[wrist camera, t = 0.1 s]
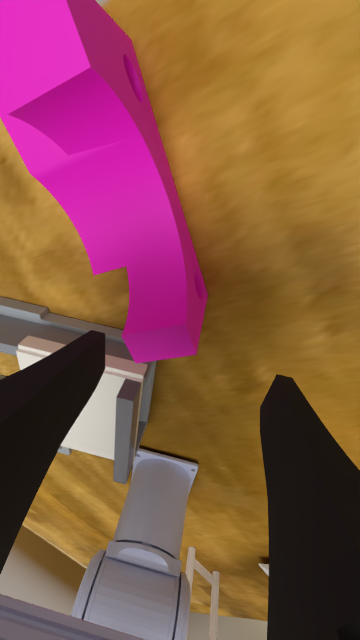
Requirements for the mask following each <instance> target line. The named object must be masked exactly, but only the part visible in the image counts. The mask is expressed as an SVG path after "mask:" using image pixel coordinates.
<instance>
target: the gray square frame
mask: <svg viewBox="0 0 360 640" xmlns="http://www.w3.org/2000/svg"><path fill="white" fill-rule="evenodd" d="M90 330H94V331H98V332H103V333H105V354H106V355H110V356H114V357H118V358H123V359H127V360H131V361H134V360H133V358H132V356H131V354H130V352H129V350H128V348H127V346H126V344H125V342H124V340H123V338H122V336H121V335H122V333H123V330H121V329H116V328H112V327H108V326H104V325H99V324H95V323H91V322H87V321H83V320H78V319H74V318H70V317H66V316H61V315H57V314H53V313H49V311H48V308H47V307H42V306H38V305H34V304H30V303H25V302H21V301H17V300H13V299H8V298H4V297H0V352H3V353H7V354H11V355H15V356H17V354H16V350H18V349H19V348H18V344H19V343H20V342H21V341H22V340H23V339H25V338H26V337H27V336H32V337H36V338H41V339H45V340H49V341H53V342H57V343H61V344H65V345H67V344H69V343H71V342H72V341H74V340H75V339H77V338H79V337H80V336H82V335H84V334H85V333H87V332H89V331H90ZM156 362H157V360H156V361H149V362H143V364H147V370H146V372H145V374H144V378H143V387H142V396H141V405H140V414H139V422H138V431H137V440H136V449H135V457H136V455H137V452H138V449H139V446H140V443H141V440H142V437H143V434H144V430H145V429H146V426H147V423H148V418H149V411H150V404H151V397H152V390H153V383H154V376H155V369H156ZM5 377H6V376H2V375H0V380H1V379H3V378H5ZM72 450H73V449H71V448H67V447H63V446H60V447H59V449H58V451H57V452H60V453H63V454H67V455H70V454H71V452H72Z"/></svg>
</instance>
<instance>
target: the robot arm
mask: <svg viewBox="0 0 360 640" xmlns="http://www.w3.org/2000/svg"><path fill="white" fill-rule="evenodd" d="M104 370H105V333H103V332H98V331H94V330H90V331H89V332H87V333H85V334H84V335H82V336H80V337H79V338H77V339H75V340H74V341H72V342H71V343H69V344H67V345H66V346H64V347H62V348H61V349H59V350H57V351H55V352H54V353H52V354H50V355H49V356H47V357H45V358H43V359H41V360H39V361H37V362H36V363H34V364H32V365H30V366H28V367H26V368H24V369H22V370H20V371H18V372H16V373H14V374H12V375H10V376H7V377H5V378H3V379H1V380H0V574H1V571H2V569H3V567H4V564H5V562H6V560H7V557H8V555H9V552H10V550H11V548H12V546H13V543H14V541H15V539H16V537H17V534H18V532H19V530H20V528H21V525H22V523H23V521H24V519H25V517H26V515H27V512H28V510H29V508H30V506H31V504H32V502H33V500H34V497H35V495H36V493H37V491H38V489H39V487H40V485H41V483H42V481H43V479H44V477H45V475H46V473H47V471H48V469H49V467H50V465H51V463H52V461H53V459H54V457H55V455H56V453H57V451H58V449H59V447H60V445H61V444H62V442H63V440H64V439H65V437H66V435H67V434H68V432H69V431H70V429H71V427H72V426H73V424H74V423H75V421H76V420H77V418H78V416H79V415H80V413H81V412H82V410H83V409H84V407H85V405H86V404H87V402H88V401H89V399H90V398H91V396H92V394H93V393H94V391H95V389H96V387H97V385H98V383H99V381H100V379H101V377H102V375H103V373H104ZM260 435H261V444H262V453H263V461H264V469H265V477H266V486H267V496H268V522H269V596H268V627H267V640H360V470H359V469H358V468H357V467H356V466H355V465H354V463H353V462H352V461H351V460H350V458H349V457H348V456H347V455H346V454H345V452H344V451H343V450H342V448H341V447H340V446H339V445H338V443H337V442H336V441H335V439H334V438H333V437H332V435H331V434H330V433H329V431H328V430H327V429H326V427H325V426H324V424H323V423H322V422H321V420H320V419H319V417H318V416H317V414H316V413H315V411H314V410H313V409H312V407H311V406H310V404H309V403H308V401H307V400H306V398H305V396H304V395H303V393H302V392H301V390H300V389H299V387H298V386H297V384H296V383H295V381H294V380H293V379H292V378H290V377H286V376H282V375H278V374H277V375H276V377H275V379H274V381H273V383H272V385H271V387H270V389H269V391H268V393H267V395H266V397H265V399H264V401H263V403H262V405H261V407H260ZM197 470H198V464H196V463H193V462H190V461H186V460H182V459H178V458H174V457H171V456H167V455H163V454H159V453H156V452H152V451H148V450H144V449H140V448H139V449H138V452H137V455H136V457H135V460H134V463H133V470H132V479H131V484H130V487H129V490H128V493H127V497H126V500H125V503H124V506H123V509H122V512H121V515H120V519H119V522H118V525H117V528H116V531H115V534H114V538H113V541H109V544H108V547H107V550H104V549H101V550H99V552H98V553H96V554H95V555H94V556H93V557H92V559H91V560H90V562H89V565H88V567H87V569H86V572H85V574H84V577H83V580H82V582H81V585H80V588H79V591H78V594H77V597H76V600H75V603H74V606H73V610H72V614H71V616H69V615H65V614H62V613H59V612H56V611H52V610H49V609H46V608H43V607H40V606H36V605H34V604H30V603H27V602H24V601H21V600H17V599H14V598H11V597H8V596H5V595H1V594H0V640H186V636H187V628H188V620H189V610H190V583H189V581H188V579H187V575H186V574H185V573H183V572H180V570H181V563H182V562H181V561H180V560H179V556H180V549H181V542H182V535H183V527H184V520H185V513H186V506H187V499H188V494H189V492H190V489H191V486H192V484H193V481H194V478H195V476H196V473H197Z"/></svg>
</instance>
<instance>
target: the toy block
mask: <svg viewBox="0 0 360 640" xmlns="http://www.w3.org/2000/svg"><path fill="white" fill-rule="evenodd" d="M0 117H1V119H2V121H3V123H4V125H5V127H6V129H7V131H8V133H9V135H10V136H11V138H12V140H13V142H14V144H15V146H16V148H17V150H18V152H19V154H20V155H21V157H22V159H23V161H24V163H25V165H26V167H27V169H28V171H29V173H30V174H31V175H32V176H34V177H35V178H36V179H37V180H38V181H39V182H40V183H41V184H42V185H43V186H44V187H45V188H46V189H47V190H48V191H49V192H50V193H51V194H52V195H53V196H54V197H55V199H56V200H57V201H58V202H59V204H60V205H61V206H62V208H63V209H64V210H65V212H66V213H67V215H68V216H69V218H70V219H71V221H72V222H73V224H74V226H75V228H76V229H77V231H78V233H79V235H80V237H81V239H82V241H83V244H84V246H85V248H86V251H87V254H88V257H89V260H90V263H91V267H92V271H93V275H96V274H100V273H104V272H107V271H111V270H114V269H118V268H122V267H125V266H127V272H128V280H129V309H128V316H127V321H126V324H125V328H124V330H123V333H122V335H121V336H122V338H123V340H124V342H125V344H126V346H127V348H128V350H129V352H130V354H131V356H132V358H133V360H134V362H135V364H136V363H143V362H149V361H156V360H163V359H170V358H177V357H183V356H190V355H196V354H197V349H198V343H199V338H200V333H201V328H202V323H203V318H204V312H205V307H206V302H207V297H208V294H207V290H206V287H205V284H204V280H203V277H202V274H201V270H200V267H199V264H198V260H197V257H196V254H195V250H194V247H193V244H192V240H191V237H190V234H189V230H188V227H187V224H186V220H185V217H184V214H183V211H182V207H181V204H180V201H179V197H178V194H177V191H176V187H175V184H174V181H173V177H172V174H171V171H170V167H169V164H168V161H167V157H166V154H165V151H164V147H163V144H162V141H161V137H160V134H159V131H158V127H157V124H156V121H155V118H154V114H153V111H152V108H151V104H150V101H149V98H148V94H147V91H146V88H145V84H144V81H143V78H142V74H141V71H140V68H139V64H138V61H137V58H136V54H135V51H134V48H133V44H132V41H131V39H130V38H129V37H128V36H127V35H126V34H125V32H124V31H123V30H122V29H121V28H120V27H119V26H118V25H117V24H116V23H115V21H114V20H113V19H112V18H111V17H110V16H109V15H108V14H107V13H106V12H105V11H104V9H103V8H102V7H101V6H100V5H99V4H98V3H97V2H96V1H95V0H0Z"/></svg>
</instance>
